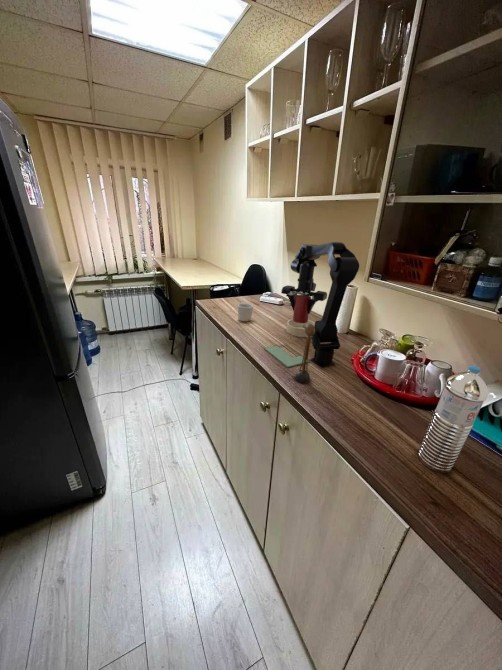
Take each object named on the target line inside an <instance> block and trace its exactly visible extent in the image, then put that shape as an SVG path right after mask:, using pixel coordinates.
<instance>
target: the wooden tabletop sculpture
mask: <svg viewBox="0 0 502 670" xmlns="http://www.w3.org/2000/svg"><path fill="white" fill-rule="evenodd" d="M303 328H304V329H305V333H306V335H308V337H305V344H304V351H303V356H302V357H303V360H304V362H303V360H302V363H301V364H300V367H299V369H298V371H297V372H296V373H295V378H294V379H295V381H296V382H298V383H300V384H308V383H309V382H310V378H311V376H310V373H309V372H308V363H309V362H308V361H309V355H310V354H309V353H310V347H311V342H312V337H310V336H313V335H314V333H315V328H314V326H313V325H312V324H308V325H303ZM306 360H307V363H306Z"/></svg>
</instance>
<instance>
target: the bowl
mask: <svg viewBox="0 0 502 670" xmlns="http://www.w3.org/2000/svg"><path fill="white" fill-rule="evenodd" d="M315 322H316V321H313V320H310V319H308V322H307V323H297V322H294V321H293V318H291V319H289V320H287V322H286V330H285V331H286V332H287V333H288V334H290V335H292V336H294V337H299V338H308V335H306V333H305V329H304V328H303V325H308V324H312V325H313V326H314V325H315ZM310 338H312V336H310Z"/></svg>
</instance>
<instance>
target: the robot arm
mask: <svg viewBox="0 0 502 670" xmlns="http://www.w3.org/2000/svg"><path fill="white" fill-rule="evenodd" d="M335 255H337V256H335ZM338 255H339V256H338ZM322 256H327V265H328V266H329V268H330V269H329V275H330V279H331V286H330V288H329V292H328V293H327V292H326V291H322V290H317V291H316V287H317V283H316V282H314V281H315V280H314V274H315V273H314V272H315V268H316V267H317V266H318V265H317V263H316V261H315V260H318V259H320V258H321V257H322ZM290 269H291V271H292V272H294V273H297V274H298V278H297V288H296V287H295V286H294V285H288V284H287V285H285V286H283V287H281V291H280V293H281V294H283V295H285V296H286V297H287V298H288V300H289V303H290V305H291V308H292V311H293V312H294V305H295V297H296V295H307V296H310V297H311V299H310V301H309V308H308V314H309V315H310V314H311V312H312V310H313V308H314V306H315V305H316V303H317V302H318V301H320V302H324V301H325V300H326V304H325V307H324V310H323V314H322V317H321V319H320V320H316V321H314V322H315V325H314V328H315V333H314V335H313V336H312V337H311V343H312V345H311V346H312V348H313V350H314V355H313V357H312V358H311V359H310V361H312V362H313V363H315V364H316V365H318V366H319V367H320V368H325V367H329V366H333V365H335V363H336V362H334V361H333V358H334V354H335V350H339V349H340V347H341V343H340V340H339V337H338V331H339V329H338V326H337V324H336V322H337V320H338V317H339V314H340V310H341V307H342V303H343V301H344V297H345V294H346V291H347V288H348V286H349V285H350V284H351V283H352V282H353V281H354V280H355V279H356V276H357V274H358V272H359V270H360V263H359V261H358V259H357V257H356V255H355V253H353V252H352V251H351V250H350V249H348V248H347V247H346V245H345V243H343V242H340V241H330V242H327V243H322V244H304V243H303V244H302V245H301V246H300V247H299V249H298V251H297V253H296V254H295V256H294V259H293V260H292V261H291V263H290Z"/></svg>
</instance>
